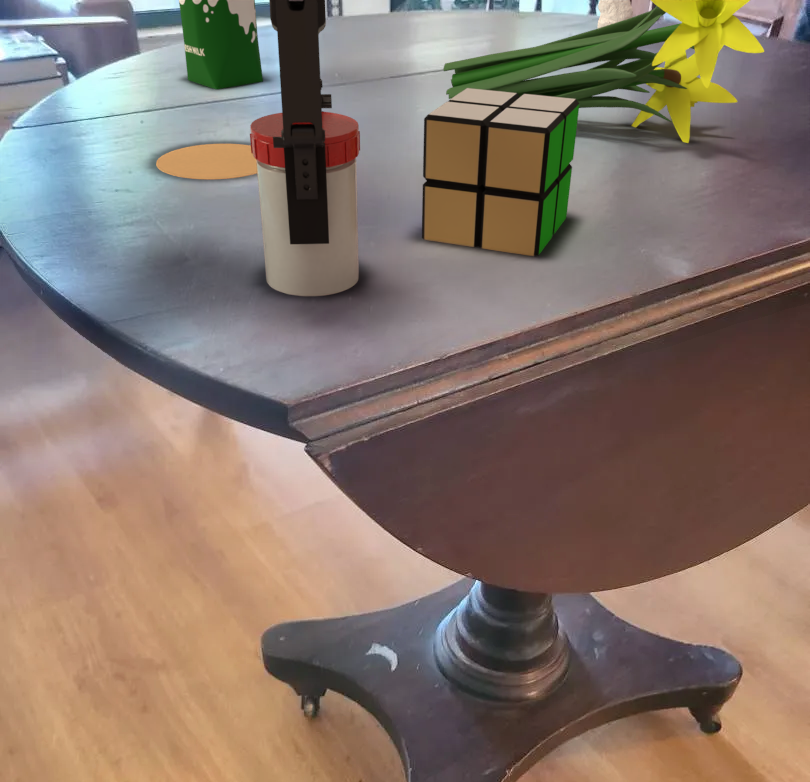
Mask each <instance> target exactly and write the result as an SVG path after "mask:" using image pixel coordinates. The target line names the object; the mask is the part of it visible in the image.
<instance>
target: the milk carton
mask: <svg viewBox="0 0 810 782" xmlns="http://www.w3.org/2000/svg"><path fill="white" fill-rule="evenodd" d="M178 4H179V11H180V20H181V28H182V35H183V44H184V53H185V56H184V57H185V64H186V75H187V76H186V77H187V81H189V82H192V83H195V84H198V85H200V86H201V85H202V86H204V87H208V88H210V89H213V90H222V89H228V88H229V89H230V88H234V87H239V86H247V85H251V84H256V83H262V82H264V78H263V77H264V76H263V69H262V62H261V53H260V46H259V36H258V25H257V12H256V11H257V10H256V0H178Z"/></svg>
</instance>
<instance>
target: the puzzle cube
mask: <svg viewBox="0 0 810 782" xmlns="http://www.w3.org/2000/svg"><path fill="white" fill-rule="evenodd" d="M579 111H580V108H579V102H578V101H577V100H576V99H571V98H561V97H551V96H542V95H532V94H523V95H522V96H521V97H519V95H518V94H517V93H511V92H501V91H492V90H482V89H472V88H466V89H465V90H463V91H462V92H460V93H459V94H457V95H456V96H455V97H453V98H452V99H448V100H447V101H446V102H444V103H443V104H441V105H440V106H439V107H436V108H435V109H434V110H432V111H431V112H430V113H428V114H427V115H426V116H425V117H424V119H423V152H422V153H423V154H422V155H423V158H422V159H423V161H422V177H423V178H424V180H425V182H424V183H422V197H421V198H422V201H421V203H422V204H421V205H422V206H421V238H422V239H423V240H424V241H431V242H436V243H443V244H450V245H456V246H464V247H470V248H478V247H479V248H481V249H482V250H483V249H484V250H490V251H497V252H503V253H509V254H517V255H523V256H530V257H537V256H538V257H539V256H540V254H541V253H542V252H543V250H544V249H545V248H546V246H547V245H548V244H549V242H550V241H551V240H552V238H553V236H554V235H555V234H556V233H557V231H558V230H559V228H560V227H561V226H562V225H563V223H564V222H565V220H566V219H567V216H568V207H569V198H570V197H569V196H570V190H571V181H572V179H571V178H572V172H573V171H572V170H573V166H572V165H571V162H572V161H573V160H574V154H575V145H576V139H577V128H578V119H579V113H580V112H579Z"/></svg>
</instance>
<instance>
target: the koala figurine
mask: <svg viewBox="0 0 810 782" xmlns="http://www.w3.org/2000/svg"><path fill="white" fill-rule="evenodd" d="M631 4H632V2H631V0H599V1H598V4H597V9H598V11H599V13H600V14H599V18H598V21H597V29H598V28H601V27H604V26H607V25H610V24H613V23H617V22H620V21H623V20H626V19H629V18H632V17H634V10H633V6H632V5H631Z"/></svg>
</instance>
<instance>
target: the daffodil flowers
mask: <svg viewBox="0 0 810 782" xmlns="http://www.w3.org/2000/svg"><path fill="white" fill-rule="evenodd" d="M650 1H651V2H652V3H653V4H654V5H655V7H654V8H653V9H651V10H649V11H646V12H643V13H640V14H638V15H635V16H633V17H632V18H629V19H626V20H623V21H620V22H617V23H613V24H610V25H607V26H604V27H601V28H598V27H597V28H594V29H591V30H587V31H585V32H581V33H578V34H575V35H571V36H567V37H564V38H561V39H557V40H554V41H551V42H547V43H544V44H541V45H535V46H532V47H527V48H526V47H525V48H520V49H515V50H507V51H502V52H496V53H490V54H485V55H481V56H475V57H470V58H465V59H460V60H455V61H450V62H445V64H444V66H443V68H442V69H443V72H448V71H453V70H454V73H453V74H452V76H451V79H450V83H451V86H452V87H449V88H448V89H446V92H445V95H446V96H447V95H448V100H450V99H452V98H453V97H455V96H456V95H457V94H459V93H460V92H462V91H463V90H465V89H466V88H472V89H482V90H492V91H501V92H511V93H517V94H518V95H519V97H521V96H522V95H523V94H532V95H542V96H551V97H561V98H571V99H576V100H577V101H578V102H579V109H587V108H588V109H589V108H624V109H625V108H628V109H635V110H639V113H638V114H637V116H636V117H635V119H634V120H633V122H632V124H630V125H631V127H633V128H637V127H638V126H639V125H640V124H643V123H644V122H646V121H647V120H648V119H650V118H651V117H653V116H656V117H659V118H661V119H663V120H665V121H667V122H668V123H669V122H670V123H672V124H673V127H674V128H675V131H676V133H677V135H678V136H679V138H680V140H681V142H682V143H687V144H689V143H690V137H691V121H692V120H691V119H692V109H691V108H695V104H697V103H698V102H699V103H700V102H701V103H712V104H735V103H738V99H737V98H736V97H735V96H734V95H733V94H732V93H731V92H730V91H729V90H728V89H726V88H725V87H723V86H721V85H720V84H718V83H715V82H712V78H713V75H714V72H715V69H716V65H717V62H718V58H719V57H718V56H719V54H720V51H721V50H722V49H723V48H724V46H726V47H728V48H730V49H732V50H734V51H737V52H742V53H746V54H761V53H765V49H764V47H763V46H762V44H761V43H760V41H759V40H758V39H757V37H756V36H755V35H754V34H753V33H752V32H751V30H750V29H749V28H748V27H747V26H746V25H745V24H744V23H743V22H742V21H741V20H740V19H739V18H738V17H737V16H736V15H734V14H736V13H737V12H738V11H739V10H740V9H742V7H744V6H745V5H747V4H748V3H749V2H750V1H751V0H650ZM665 14H668V15H669V16H671V17H673V18H674V19H675V20H677V21H679V22H680V23H676V24H671V25H667V26H663V27H657V28H652V27H653V26H654V24H655V23H657V22H658V20H660V18H661V17H662V16H664V15H665ZM651 28H652V29H651ZM661 43H663V44H662V45H661V47H660V49H659V50H658V52H651V51H647V50H643V49H638V48H642V47H645V46H650V45H654V44H661ZM689 49H691V50H694V53H693V54H692V55H690V56H689V57H688V56H687V51H688V50H689ZM626 60H632V61H629V62H626V63H623V62H624V61H626ZM601 62H602V63H601ZM603 62H604V63H603ZM595 63H601V64H598V65H596V66H593V67H591V68H588V69H585V70H578V71H573V72H566V73H560V74H554V75H549V76H544V75H548V74H550V73H554V72H556V71H560V70H563V69H564V70H565V69H568V68H574V67H578V66H584V65H588V64H589V65H590V64H595ZM621 63H623V64H621ZM663 63H664V66H663V67H661V66H660V65H661V64H663ZM540 76H543V77H540ZM698 76H699V77H698ZM640 85H647V86H648V87H649V88H651V89H653V90H655V91H654V93H653V94H652V95H651V96H650V98H648V100H647V101H646V103H645V104H644V103H642V102H638V101H634V100H630V99H626V98H622V97H619V96H613V95H612V96H611V95H603V94H606V93H609V92H612V91H616V90H626V91H632V92H639V93H645V94H649V93H651V91H649V90H647V89H645V88H643V87H641V86H640ZM665 107H666V108H667V111H668V113H669V117H670V118H671V119H669V118H668V117H666V116H665V115H663V114H662V113H661V112H660V111H662V110H663V109H664V108H665Z"/></svg>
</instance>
